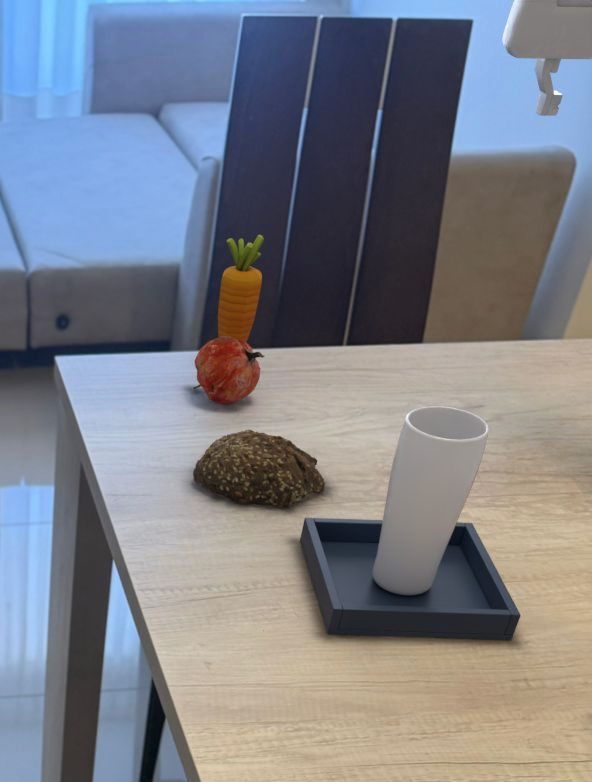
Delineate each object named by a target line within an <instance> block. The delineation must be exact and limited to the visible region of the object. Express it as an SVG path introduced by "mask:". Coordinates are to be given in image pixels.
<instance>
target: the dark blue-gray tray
mask: <svg viewBox="0 0 592 782" xmlns="http://www.w3.org/2000/svg"><path fill="white" fill-rule="evenodd" d="M382 522H383V519H359V518H325V517H304V519H303V524H302V530H301V533H300V538H299V545H300V547H301V551H302V554H303V558H304V561H305V563H306V564H305V565H306V568H307V571H308V574H309V577H310V581H311V584H312V588H313V591H314V594H315V597H316V601H317V604H318V608H319V611H320V614H321V618H322V621H323V624H324V628H325V631H326V634H327V635H332V636H360V637H363V636H364V637H392V638H393V637H394V638H421V639H422V638H423V639H449V640H451V639H452V640H480V641H482V640H483V641H507V642H509V641H512V640H513V638H514V634H515V632H516V629H517V626H518V624H519V621H520V619H521V613H520V611H519V609H518V608H517V605H516V604H515V601H514V600H513V597H512V596H511V594H510V591H508V588H507V586H506V584H505V583H504V580H503V579H502V577H501V574H500V573H499V571H498V569H497V567H496V566H495V563H494V562H493V560H492V558H491V556H490V554H489V552H488V551H487V548H486V546H485V545H484V543H483V541H482V539H481V537H480V536H479V533H478V531H477V529H476V527H475V526H474V523H473V522H461V521H460V522H458V521H457V523H456V526H455V528H454V531H453V533H452V535H451V538H450V540H449V543H448V545H447V547H446V550H445V552H444V555H443V557H442V560H441V562H440V565H439V567H438V570H437V573H436V577H435V580H434V583H433V585H432V586H431V588H430V589H429V590H427V591H426V592H424V593H422V594H418V595H410V596H407V595H398V594H394V593H391V592H389V591H386V590H384V589H383V588H381V587H380V586H379V585H378V584H377V583H376V582H375V581H374V579H373V575H372V572H373V567H374V563H375V559H376V555H377V550H378V545H379V539H380V533H381V528H382Z"/></svg>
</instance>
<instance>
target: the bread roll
mask: <svg viewBox="0 0 592 782" xmlns="http://www.w3.org/2000/svg"><path fill="white" fill-rule="evenodd" d="M316 465H318V459H317V458H316V457H314V456H311V454H309V453H308V452H306V451H304V450H302V449H301V448H299V447H298V446H296V444H294V443H293V442H292V441H291V440H290V439H287V438H285V437H283V436H280V435H273V434H267V433H265V432H259V431H254V430H252V429H249V428H248V429H245V430H241V431H237V432H234V433H231V434H227V435H222V436H221V437H220V438H218V439H215V440H214V442H212V443H211V444H210V445H209V447H208V448H206V449H205V451H204V454H202V456H201V458H200V459H198V460H197V461H196V464H195V468H194V469H193V472H192V477H193V482H194V483H195V484H196V485H198V486H199V487H201V488H204V489H205V490H206V491H207V492H210V493H212V494H214V495H216V496H222V497H224V498H226V499H227V500H230V501H232V502H233V501H234V502H235V503H238V504H243V505H259V506H265V507H271V508H276V509H283V508H284V509H285V508H289V507H293V506H294V505H296V504H298V503H300V502H301V501H302V500H303V499H305V498H306V497H307V496H308V495H310V494H321V493H322V492H323V491H324V490H325V489H326V483H325V479H324V478H323V476H322V474H321V473H320V471H319V470H318V468H316Z"/></svg>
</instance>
